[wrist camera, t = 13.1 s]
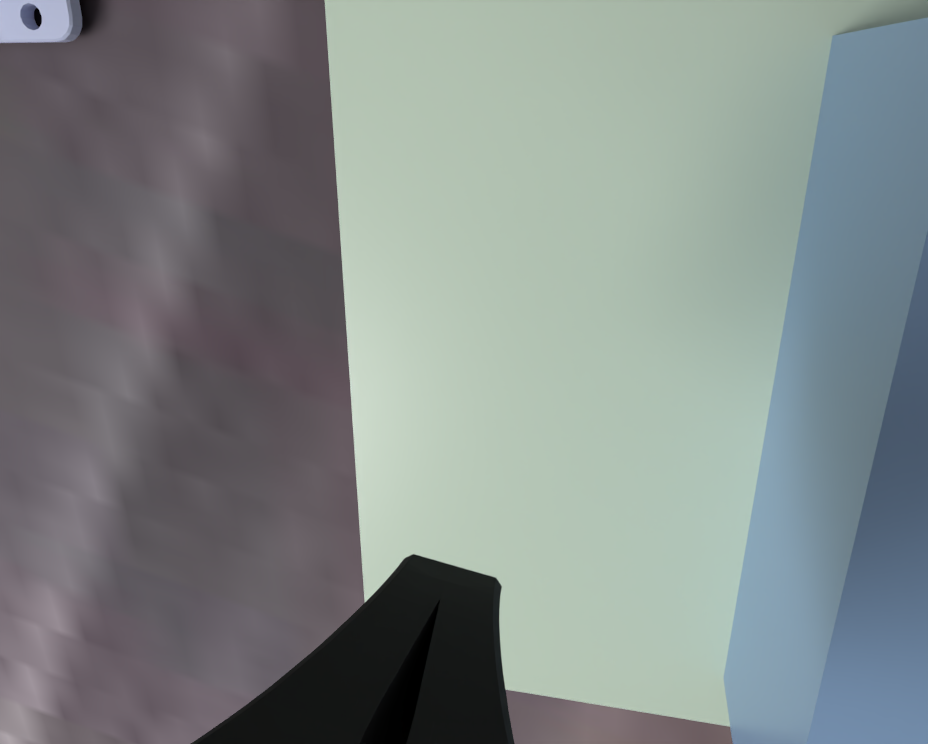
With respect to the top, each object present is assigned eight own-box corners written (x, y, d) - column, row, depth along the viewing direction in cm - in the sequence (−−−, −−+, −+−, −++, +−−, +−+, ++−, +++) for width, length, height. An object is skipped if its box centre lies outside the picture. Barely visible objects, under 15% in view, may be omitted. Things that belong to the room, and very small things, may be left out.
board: (380, 641, 21) (369, 666, 20) (283, -1020, 10) (250, -1123, 9) (973, 735, 18) (990, 769, 17) (1751, -1492, 7) (1912, -1716, 6)
